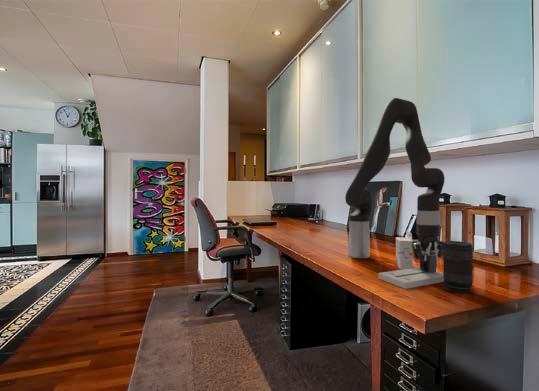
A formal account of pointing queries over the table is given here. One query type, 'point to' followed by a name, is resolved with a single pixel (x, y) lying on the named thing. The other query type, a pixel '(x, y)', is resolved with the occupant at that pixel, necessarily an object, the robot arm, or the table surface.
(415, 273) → the fader console
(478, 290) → the table surface
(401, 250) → the ink cartridge box
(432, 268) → the fader tab
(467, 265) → the camera lens
